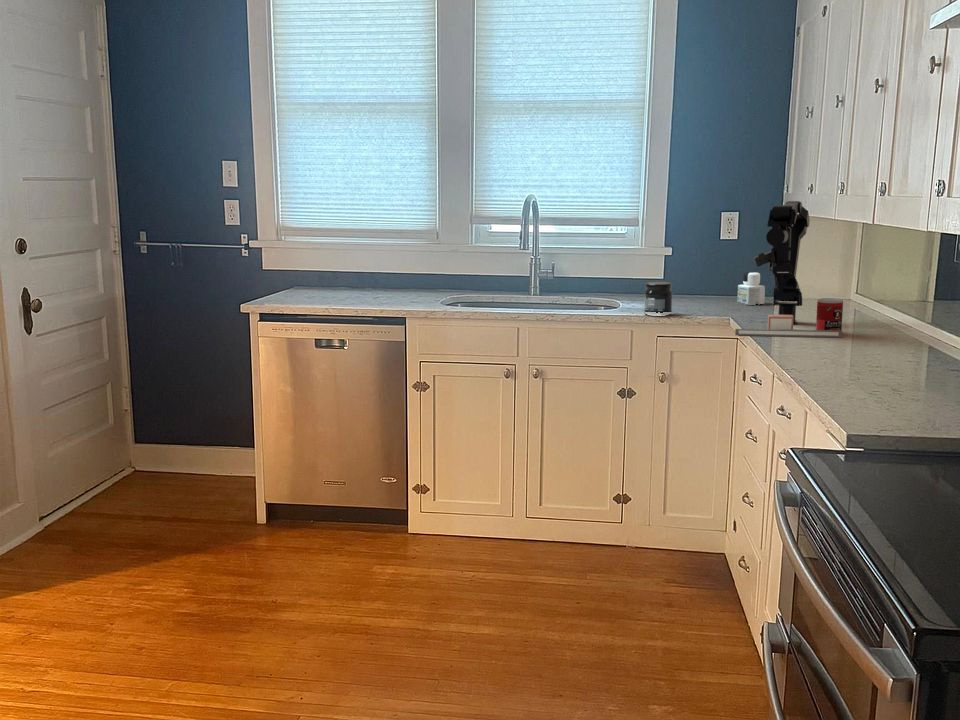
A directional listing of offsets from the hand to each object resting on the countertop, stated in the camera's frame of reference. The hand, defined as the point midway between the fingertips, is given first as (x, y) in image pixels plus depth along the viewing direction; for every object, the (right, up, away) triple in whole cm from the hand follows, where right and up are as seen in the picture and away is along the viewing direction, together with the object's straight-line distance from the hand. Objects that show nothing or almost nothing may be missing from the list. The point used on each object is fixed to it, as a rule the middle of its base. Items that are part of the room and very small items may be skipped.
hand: (779, 291), depth 294 cm
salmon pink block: (-2, -14, -7) cm, 16 cm away
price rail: (-2, -15, -12) cm, 20 cm away
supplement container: (-32, -6, +41) cm, 52 cm away
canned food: (+13, -14, -9) cm, 21 cm away
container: (+11, 0, +66) cm, 67 cm away
